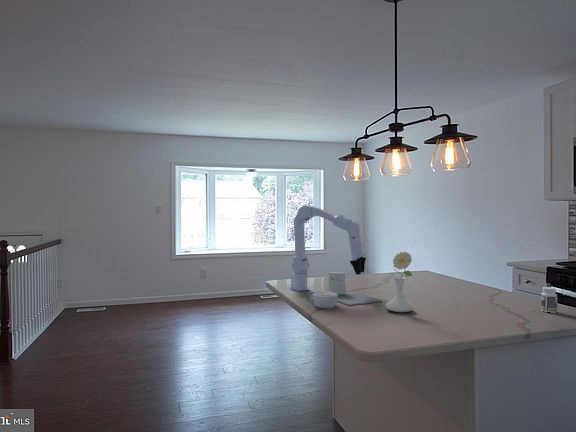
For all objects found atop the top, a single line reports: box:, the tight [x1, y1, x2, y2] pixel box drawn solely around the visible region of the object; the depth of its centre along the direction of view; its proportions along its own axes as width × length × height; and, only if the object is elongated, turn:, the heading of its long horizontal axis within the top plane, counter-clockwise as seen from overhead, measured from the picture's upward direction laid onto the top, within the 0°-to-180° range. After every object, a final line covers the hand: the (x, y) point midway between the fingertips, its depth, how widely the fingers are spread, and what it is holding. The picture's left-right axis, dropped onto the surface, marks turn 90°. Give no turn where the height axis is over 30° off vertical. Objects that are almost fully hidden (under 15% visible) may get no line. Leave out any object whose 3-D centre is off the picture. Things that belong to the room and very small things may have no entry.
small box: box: [328, 271, 347, 295], centre depth 199 cm, size 8×6×10 cm
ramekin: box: [312, 290, 339, 309], centre depth 176 cm, size 11×11×5 cm
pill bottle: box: [540, 286, 558, 314], centre depth 167 cm, size 6×6×10 cm
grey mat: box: [337, 292, 382, 307], centre depth 188 cm, size 18×18×1 cm
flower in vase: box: [384, 251, 415, 313], centre depth 167 cm, size 13×11×25 cm
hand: (360, 273), depth 199 cm, fingers open, 7 cm apart
